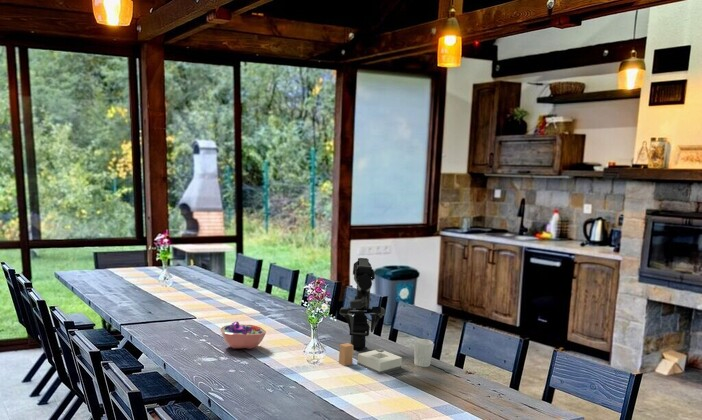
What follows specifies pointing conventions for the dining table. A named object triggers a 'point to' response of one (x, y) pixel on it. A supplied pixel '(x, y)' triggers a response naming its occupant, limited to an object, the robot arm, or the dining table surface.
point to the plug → (346, 354)
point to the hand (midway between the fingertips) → (361, 332)
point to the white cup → (422, 352)
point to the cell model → (242, 335)
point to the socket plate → (379, 361)
